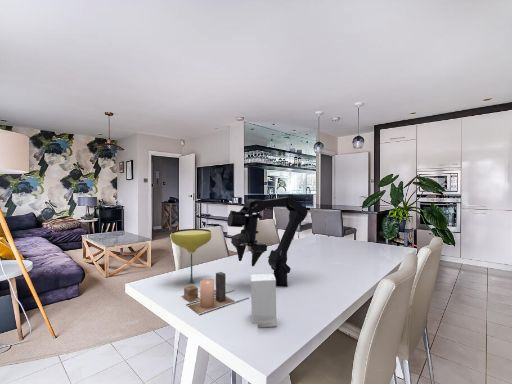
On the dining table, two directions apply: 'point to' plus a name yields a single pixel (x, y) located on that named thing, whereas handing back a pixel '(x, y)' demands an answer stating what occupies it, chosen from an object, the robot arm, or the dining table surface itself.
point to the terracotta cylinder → (207, 293)
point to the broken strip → (196, 298)
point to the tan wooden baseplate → (220, 295)
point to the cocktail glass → (191, 241)
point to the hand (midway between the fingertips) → (246, 263)
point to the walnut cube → (190, 292)
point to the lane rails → (219, 307)
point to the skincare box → (263, 300)
